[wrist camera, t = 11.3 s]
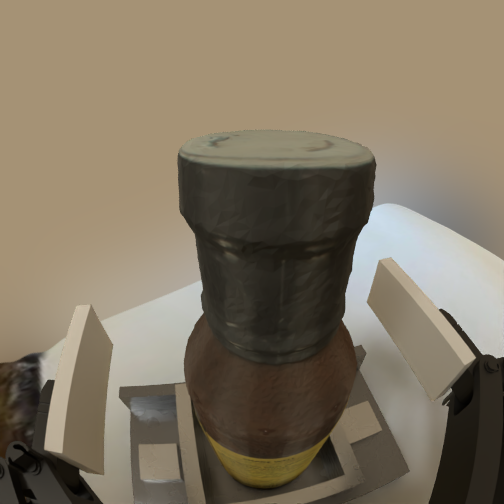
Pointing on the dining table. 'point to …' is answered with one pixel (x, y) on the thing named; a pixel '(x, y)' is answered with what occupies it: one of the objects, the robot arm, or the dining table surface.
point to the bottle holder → (232, 491)
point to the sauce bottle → (272, 292)
